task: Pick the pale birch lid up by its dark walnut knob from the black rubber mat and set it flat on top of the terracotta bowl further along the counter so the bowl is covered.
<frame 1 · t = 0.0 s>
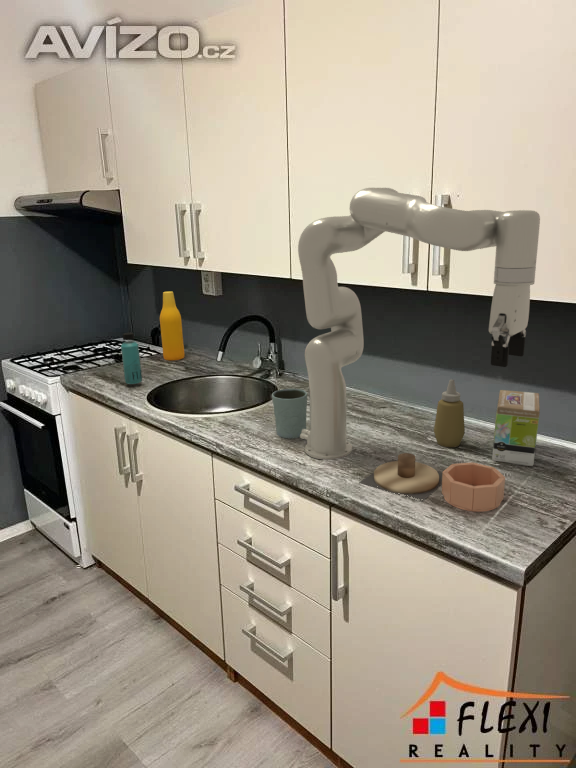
hand: (507, 360, 120), 31 cm above the worktop, fingers open, 9 cm apart
squeeze bottle: (448, 444, 158), on the worktop
beverage bottle: (134, 385, 220), on the worktop
bowl: (471, 499, 129), on the worktop
beer bottle: (174, 358, 258), on the worktop
lid: (406, 478, 138), resting on mat
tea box: (513, 453, 151), on the worktop
mat: (406, 480, 138), on the worktop
blue-green cup: (290, 433, 170), on the worktop
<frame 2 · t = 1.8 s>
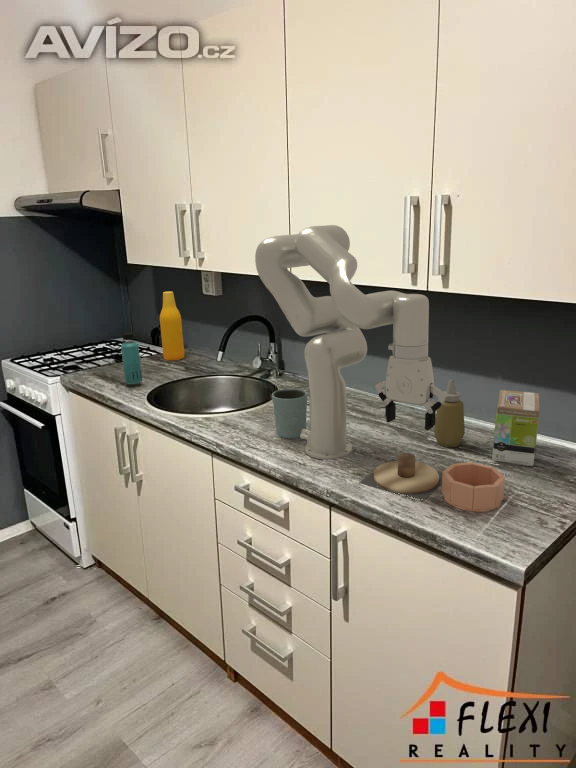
hand: (409, 424, 134), 14 cm above the worktop, fingers open, 9 cm apart
nothing on the worktop moved.
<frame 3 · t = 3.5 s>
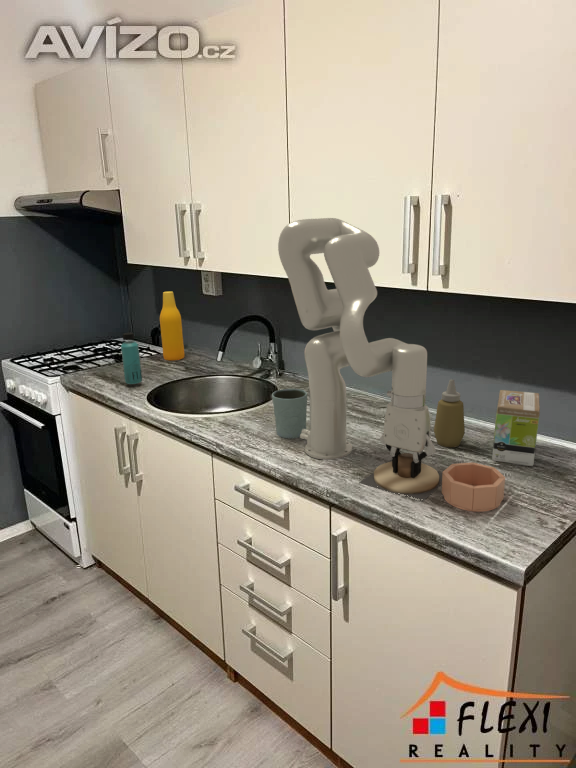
hand: (406, 472, 138), 2 cm above the worktop, fingers closed on lid, 4 cm apart
lid: (406, 478, 138), point 1 cm above the worktop, touching gripper, mat
everything else where it was.
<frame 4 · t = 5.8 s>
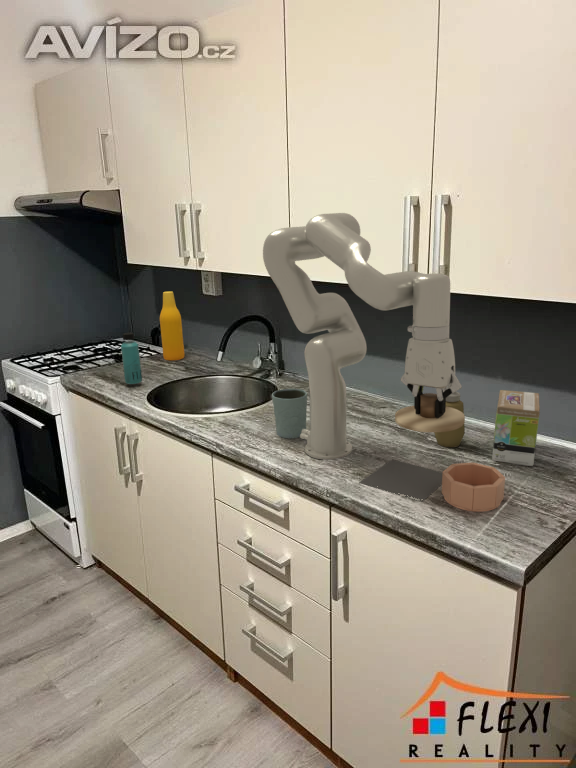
hand: (429, 413, 130), 18 cm above the worktop, fingers closed on lid, 4 cm apart
lid: (429, 420, 130), point 16 cm above the worktop, touching gripper
everything else where it was.
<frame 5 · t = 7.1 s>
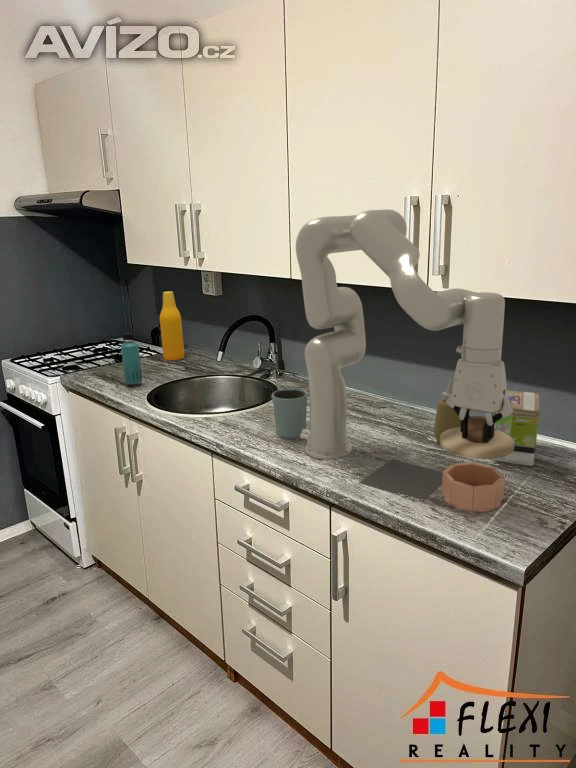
hand: (476, 437, 124), 15 cm above the worktop, fingers closed on lid, 4 cm apart
lid: (476, 444, 125), point 13 cm above the worktop, touching gripper
everything else where it was.
when the fingers open (9 cm above the worktop, at t = 8.3 s): lid drops 1 cm, resting on bowl.
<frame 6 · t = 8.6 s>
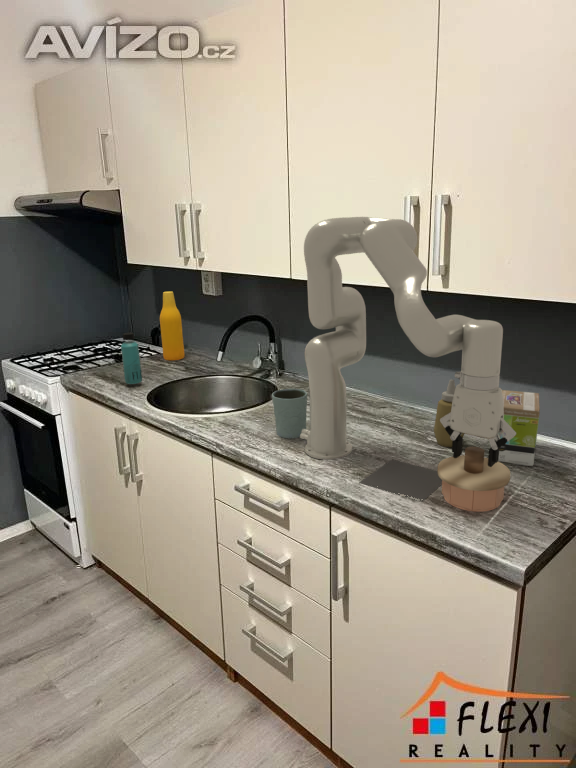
hand: (474, 459, 126), 10 cm above the worktop, fingers open, 7 cm apart
lid: (473, 474, 127), point 6 cm above the worktop, touching bowl
everything else where it was.
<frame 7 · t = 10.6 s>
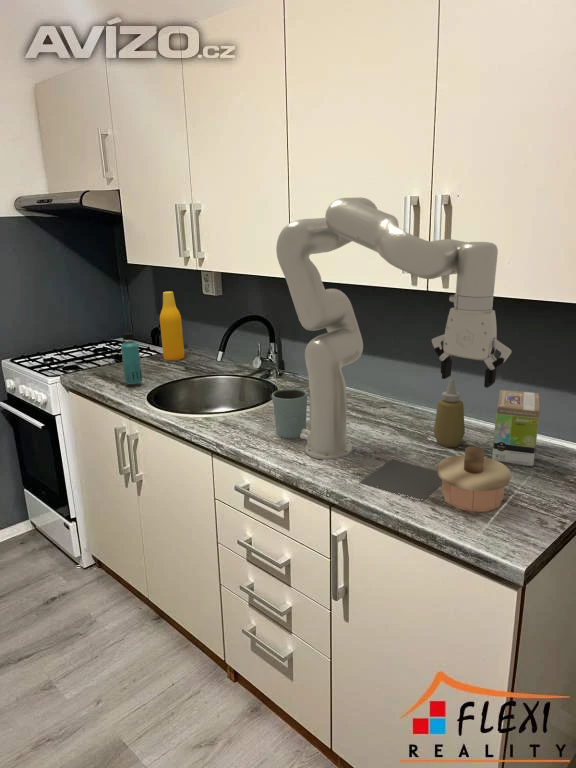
hand: (466, 381, 127), 25 cm above the worktop, fingers open, 9 cm apart
nothing on the worktop moved.
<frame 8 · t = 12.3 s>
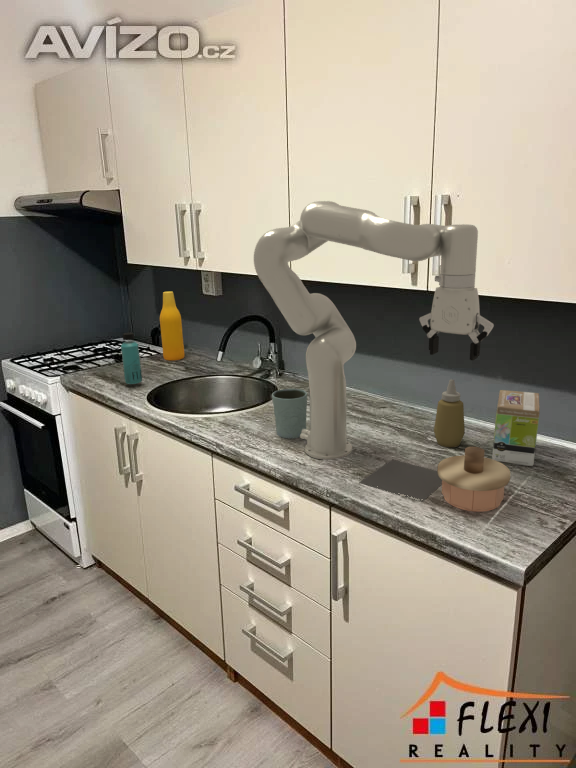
hand: (453, 356, 136), 28 cm above the worktop, fingers open, 9 cm apart
nothing on the worktop moved.
at the end: lid 0.1 cm off-centre on the bowl, point 6.0 cm above the bowl's base; lid tilted 0°; the gripper is holding nothing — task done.
